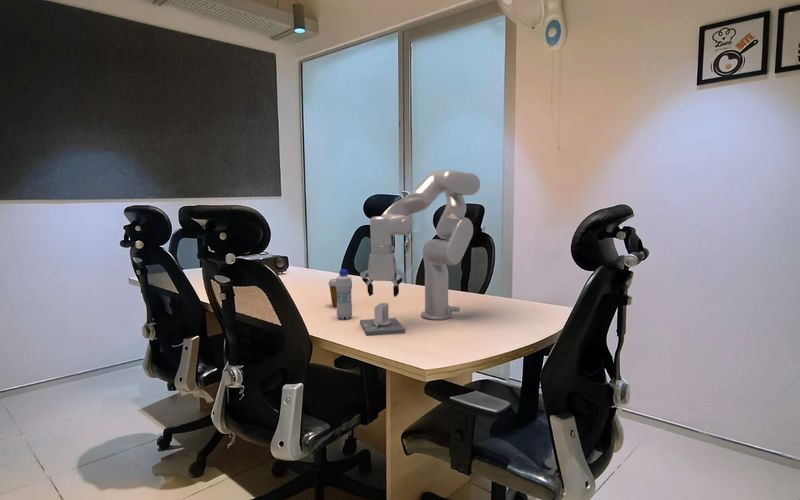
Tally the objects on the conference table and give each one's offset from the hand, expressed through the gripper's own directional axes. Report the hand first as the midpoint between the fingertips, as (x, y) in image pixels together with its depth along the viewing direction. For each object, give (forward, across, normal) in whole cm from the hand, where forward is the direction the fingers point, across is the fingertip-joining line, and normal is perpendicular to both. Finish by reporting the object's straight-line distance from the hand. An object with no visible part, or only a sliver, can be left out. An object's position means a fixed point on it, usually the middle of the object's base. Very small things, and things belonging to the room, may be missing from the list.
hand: (383, 295), depth 178 cm
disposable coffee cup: (+13, +30, -29) cm, 44 cm away
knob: (+10, +1, +2) cm, 11 cm away
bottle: (+12, +20, -10) cm, 25 cm away
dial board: (+12, +1, +1) cm, 12 cm away
